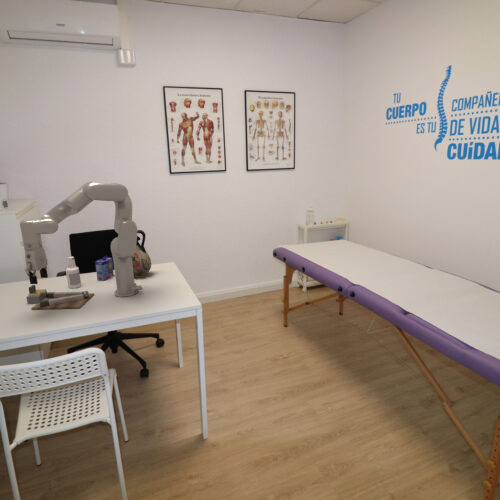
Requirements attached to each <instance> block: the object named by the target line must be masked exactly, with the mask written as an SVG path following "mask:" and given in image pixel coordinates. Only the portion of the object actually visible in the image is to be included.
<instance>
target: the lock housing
mask: <svg viewBox="0 0 500 500" xmlns="http://www.w3.org/2000/svg"><path fill="white" fill-rule="evenodd" d="M47 293H48V291H47V290H46V292H45V293H44V294H42V295H41V296H29V295H27V296H26V302H27V304H28V305H30V304H31V305H34V304H35V305H36V304H38V303H39V302H40V301H42V300H43V299H45V298H46V294H47Z"/></svg>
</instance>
